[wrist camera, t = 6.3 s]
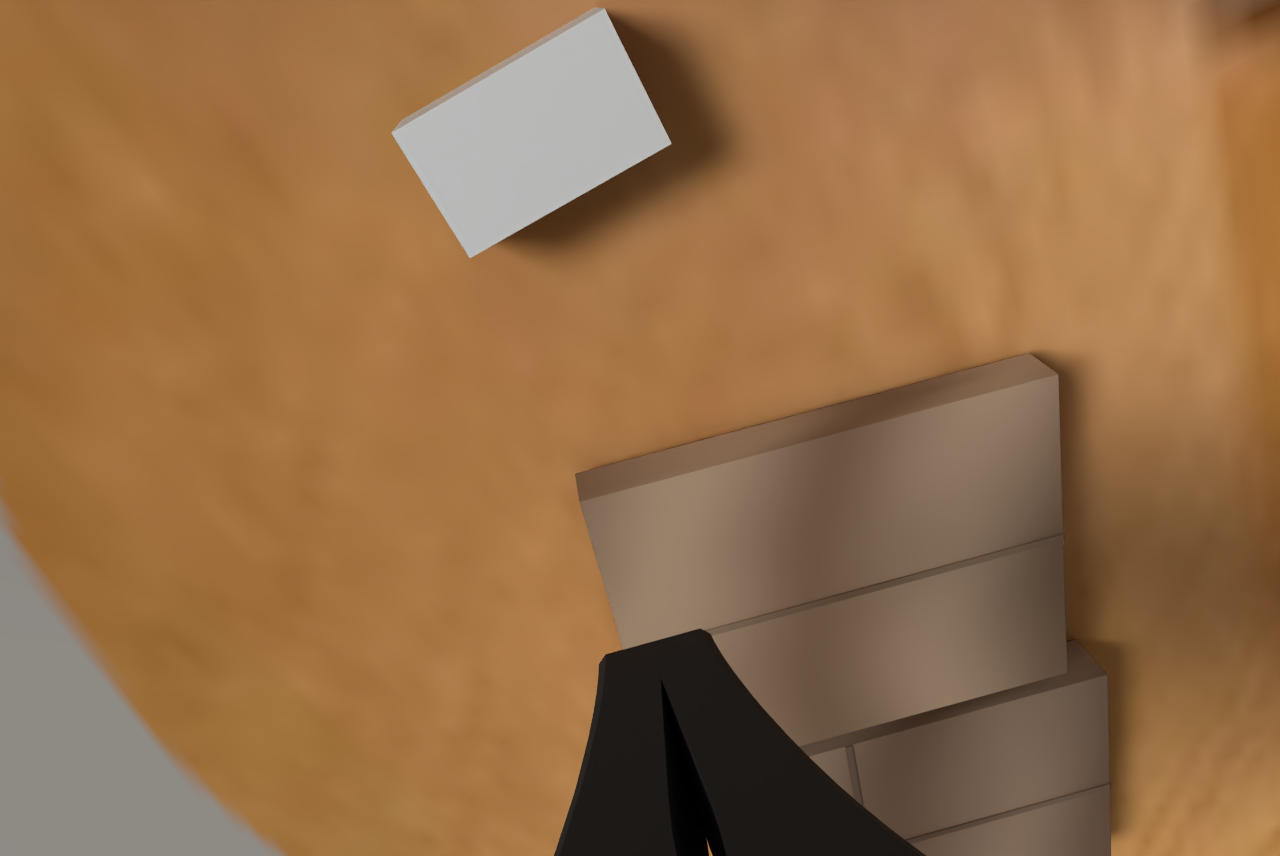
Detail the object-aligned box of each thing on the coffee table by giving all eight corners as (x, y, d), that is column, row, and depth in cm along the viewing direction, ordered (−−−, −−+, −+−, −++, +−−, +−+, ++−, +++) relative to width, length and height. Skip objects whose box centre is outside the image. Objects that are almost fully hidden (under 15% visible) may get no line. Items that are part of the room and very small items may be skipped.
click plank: (1029, 352, 21) (1059, 375, 20) (1041, 641, 24) (1068, 674, 23) (575, 474, 20) (579, 503, 19) (655, 746, 24) (663, 784, 23)
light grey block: (593, 7, 17) (604, 8, 16) (654, 129, 18) (671, 143, 17) (402, 119, 18) (391, 133, 16) (472, 233, 19) (469, 257, 17)
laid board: (1076, 639, 25) (1108, 676, 23) (1083, 826, 28) (1112, 868, 26) (696, 743, 24) (707, 786, 23) (744, 921, 27) (756, 967, 26)
